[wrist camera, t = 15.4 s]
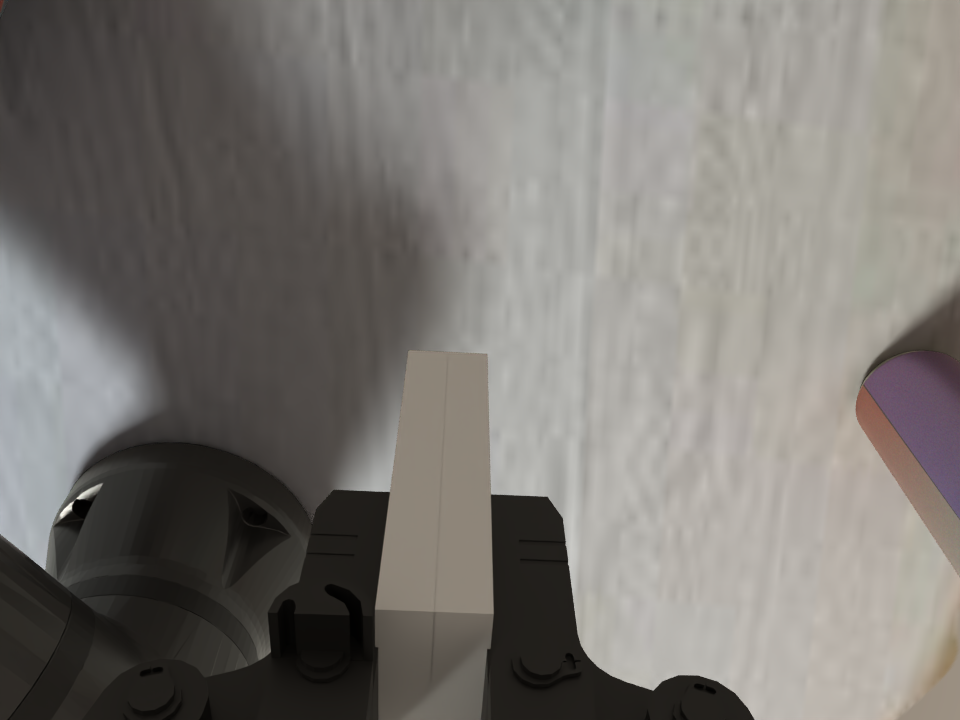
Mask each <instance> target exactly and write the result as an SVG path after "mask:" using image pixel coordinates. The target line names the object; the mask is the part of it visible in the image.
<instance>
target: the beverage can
mask: <svg viewBox="0 0 960 720" xmlns="http://www.w3.org/2000/svg"><path fill="white" fill-rule="evenodd" d="M856 416H857V420H858V422H859V424H860V426H861V428H862V429H863V431H864V432H865V434H866V435H867V437H868V438H869V440H870V441H871V443H872V444H873V446H874V447H875V449H876V450H877V452H878V453H879V455H880V457H881V458H882V460H883V461H884V463H885V464H886V466H887V467H888V469H889V470H890V472H891V473H892V475H893V476H894V478H895V479H896V481H897V482H898V484H899V486H900V487H901V489H902V490H903V492H904V493H905V495H906V496H907V498H908V499H909V501H910V502H911V504H912V505H913V507H914V508H915V510H916V511H917V513H918V515H919V516H920V518H921V519H922V521H923V522H924V524H925V525H926V527H927V528H928V530H929V531H930V533H931V534H932V536H933V537H934V539H935V540H936V542H937V544H938V545H939V547H940V548H941V550H942V551H943V553H944V554H945V556H946V557H947V559H948V560H949V562H950V563H951V565H952V566H953V568H954V569H955V571H956V573H957V574H958V576H959V577H960V363H959V362H958V361H957V360H956V359H954V358H952V357H951V356H949V355H946V354H943V353H940V352H934V351H911V352H905V353H902V354H898V355H896V356H893V357H891V358H889V359H887V360H885V361H884V362H882V363H881V364H880V365H878V366H877V367H876V368H875V369H874V370H872V372H871V373H870V374H869V375H868V376H867V377H866V379H865V380H864V382H863V384H862V386H861V388H860V390H859V393H858V397H857V401H856Z"/></svg>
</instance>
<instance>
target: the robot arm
mask: <svg viewBox="0 0 960 720" xmlns="http://www.w3.org/2000/svg"><path fill="white" fill-rule="evenodd" d="M565 543H566V541H565V533H564V525H563V518H562V517H561V515H560V514H559V512H558V511H557V510H556V508H555V507H554V505H553V504H552V503H551V501H550V500H549V498H548V497H538V496H514V495H491V483H490V442H489V400H488V359H487V354H479V353H458V352H437V351H416V350H408V358H407V366H406V373H405V381H404V389H403V396H402V404H401V412H400V420H399V427H398V435H397V443H396V450H395V458H394V466H393V474H392V481H391V489H390V492H372V491H348V490H333V491H332V492H331V493H330V495H329V496H328V497H327V498H326V499H325V500H324V501H323V503H322V504H321V505H320V506H319V507H318V508H317V509H316V512H315V516H314V520H313V525H311V522H310V520H309V518H308V516H307V514H306V512H305V511H304V509H303V507H302V506H301V505H300V503H299V502H298V501H297V499H296V498H295V497H294V496H293V495H292V493H291V492H290V491H289V490H288V489H287V488H286V487H285V486H283V485H282V484H281V483H280V482H279V481H278V480H276V479H275V478H274V477H273V476H271V475H270V474H268V473H267V472H265V471H264V470H262V469H261V468H259V467H257V466H256V465H254V464H252V463H250V462H248V461H246V460H244V459H242V458H239V457H237V456H235V455H232V454H229V453H227V452H223V451H220V450H217V449H213V448H209V447H204V446H199V445H192V444H182V443H157V444H148V445H142V446H137V447H133V448H129V449H126V450H123V451H120V452H117V453H115V454H112V455H110V456H108V457H106V458H104V459H103V460H101V461H99V462H98V463H96V464H95V465H93V466H92V467H91V468H89V469H88V470H87V471H86V472H85V473H84V474H83V475H82V476H81V477H80V478H79V479H78V481H77V482H76V483H75V485H74V486H73V488H72V490H71V491H70V493H69V494H68V496H67V498H66V499H65V501H64V503H63V504H62V506H61V508H60V509H59V511H58V513H57V515H56V517H55V519H54V522H53V525H52V528H51V531H50V536H49V543H48V552H47V561H46V569H45V570H44V569H42V568H41V567H40V566H39V565H38V564H36V563H35V562H34V561H33V560H31V559H30V558H29V557H28V556H27V555H25V554H24V553H23V552H22V551H20V550H19V549H18V548H17V547H15V546H14V545H13V544H12V543H11V542H9V541H8V540H7V539H6V538H4V537H3V536H2V535H1V534H0V720H754V718H753V716H752V715H751V713H750V711H749V710H748V708H747V707H746V706H745V705H744V703H743V702H742V701H741V700H740V699H739V697H738V696H737V695H736V694H735V693H734V692H732V691H731V690H729V689H728V688H726V687H725V686H723V685H722V684H720V683H719V682H717V681H714V680H710V679H707V678H704V677H701V676H688V675H678V676H676V677H673V678H670V679H668V680H665V681H662V682H661V683H660V684H659V686H658V687H657V688H656V689H655V690H654V691H652V690H649V689H646V688H643V687H640V686H636V685H633V684H630V683H627V682H624V681H622V680H620V679H617V678H615V677H612V676H610V675H609V674H607V673H606V672H604V671H603V670H601V669H600V668H598V667H597V666H596V665H595V664H594V663H593V662H592V661H591V660H590V659H589V658H588V657H587V655H586V653H585V652H584V650H583V648H582V647H581V644H580V641H579V637H578V634H577V626H576V618H575V611H574V603H573V595H572V587H571V580H570V572H569V566H568V556H567V548H566V546H565Z"/></svg>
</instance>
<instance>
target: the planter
mask: <svg viewBox="0 0 960 720" xmlns="http://www.w3.org/2000/svg"><path fill="white" fill-rule="evenodd" d="M7 1H8V0H0V18H1V16H2V14H3V11H4V9H5V6H6V4H7Z"/></svg>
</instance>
